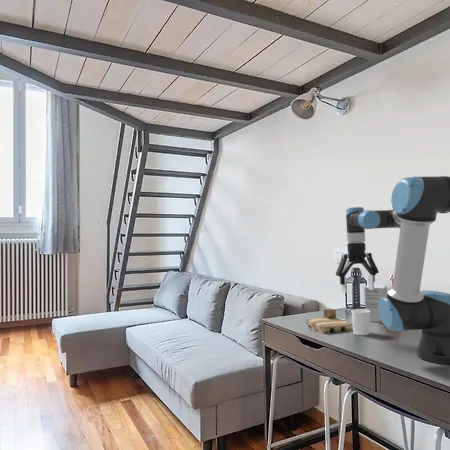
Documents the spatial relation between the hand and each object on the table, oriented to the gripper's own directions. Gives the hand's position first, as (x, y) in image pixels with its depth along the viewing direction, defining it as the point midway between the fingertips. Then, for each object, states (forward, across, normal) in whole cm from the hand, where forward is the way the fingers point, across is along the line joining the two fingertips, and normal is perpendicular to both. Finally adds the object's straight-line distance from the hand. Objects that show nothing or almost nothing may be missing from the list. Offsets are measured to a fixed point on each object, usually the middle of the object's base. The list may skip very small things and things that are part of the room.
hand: (358, 290), depth 179 cm
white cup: (+19, -1, 0) cm, 19 cm away
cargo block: (+15, +3, -19) cm, 25 cm away
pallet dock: (+18, +7, -14) cm, 24 cm away
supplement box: (+19, -22, -17) cm, 34 cm away
